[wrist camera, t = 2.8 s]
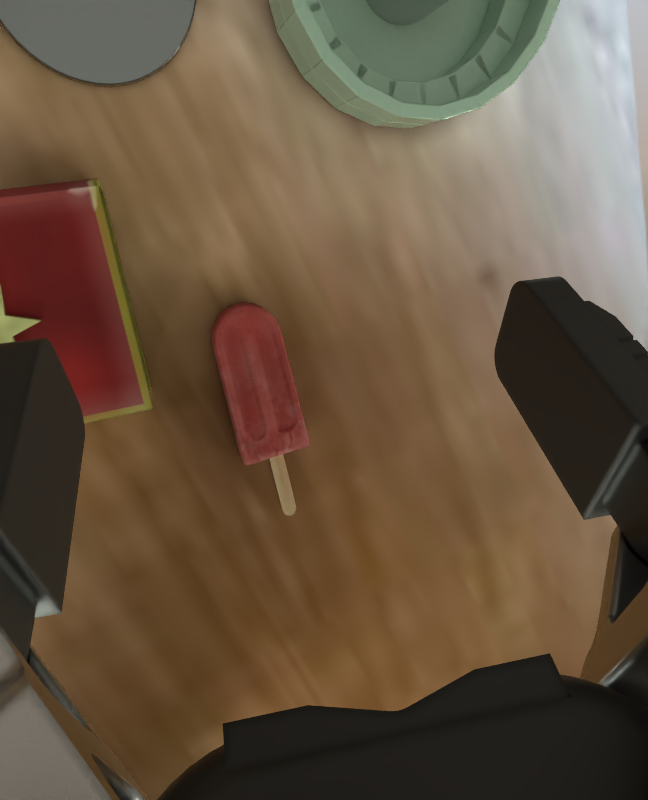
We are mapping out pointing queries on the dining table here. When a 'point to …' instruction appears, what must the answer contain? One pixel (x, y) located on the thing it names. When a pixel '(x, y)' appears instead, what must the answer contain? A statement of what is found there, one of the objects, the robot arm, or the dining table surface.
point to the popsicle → (259, 391)
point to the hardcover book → (72, 293)
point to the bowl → (411, 55)
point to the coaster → (100, 36)
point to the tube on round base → (404, 9)
